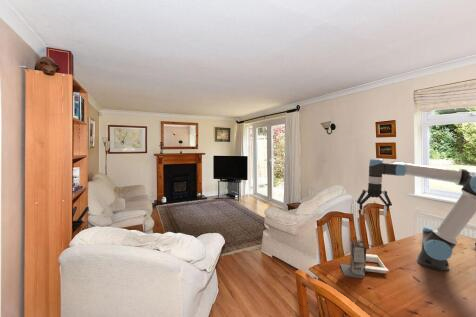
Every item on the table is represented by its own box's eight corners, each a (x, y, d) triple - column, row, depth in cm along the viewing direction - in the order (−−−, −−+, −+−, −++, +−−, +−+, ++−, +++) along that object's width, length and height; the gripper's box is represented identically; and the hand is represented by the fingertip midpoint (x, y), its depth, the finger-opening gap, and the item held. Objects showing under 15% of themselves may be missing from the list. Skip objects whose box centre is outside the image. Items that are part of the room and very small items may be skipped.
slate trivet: (357, 267, 142) (357, 265, 142) (363, 278, 131) (363, 276, 130) (340, 265, 144) (340, 263, 144) (344, 275, 133) (344, 274, 133)
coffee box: (365, 275, 132) (366, 248, 130) (352, 274, 133) (354, 246, 132) (361, 267, 140) (362, 241, 139) (349, 265, 142) (350, 240, 141)
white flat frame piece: (376, 259, 151) (376, 255, 151) (388, 276, 133) (388, 270, 132) (354, 257, 154) (355, 252, 154) (363, 273, 136) (363, 267, 135)
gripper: (394, 182, 151) (392, 214, 153) (352, 181, 157) (351, 211, 158) (399, 184, 144) (397, 218, 146) (355, 183, 150) (354, 215, 151)
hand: (373, 215), depth 152 cm, fingers open, 13 cm apart
